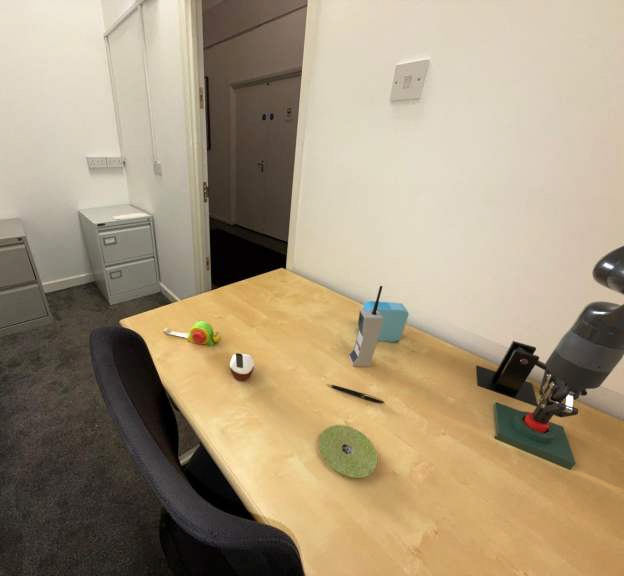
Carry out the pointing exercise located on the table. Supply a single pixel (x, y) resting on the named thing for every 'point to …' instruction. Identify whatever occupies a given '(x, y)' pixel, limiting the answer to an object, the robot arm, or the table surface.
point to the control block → (532, 436)
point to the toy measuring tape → (198, 334)
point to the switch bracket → (511, 374)
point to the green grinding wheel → (348, 451)
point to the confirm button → (535, 424)
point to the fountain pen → (357, 394)
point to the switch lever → (543, 366)
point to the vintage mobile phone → (367, 335)
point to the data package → (390, 319)
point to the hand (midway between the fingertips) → (538, 419)
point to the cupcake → (241, 366)
